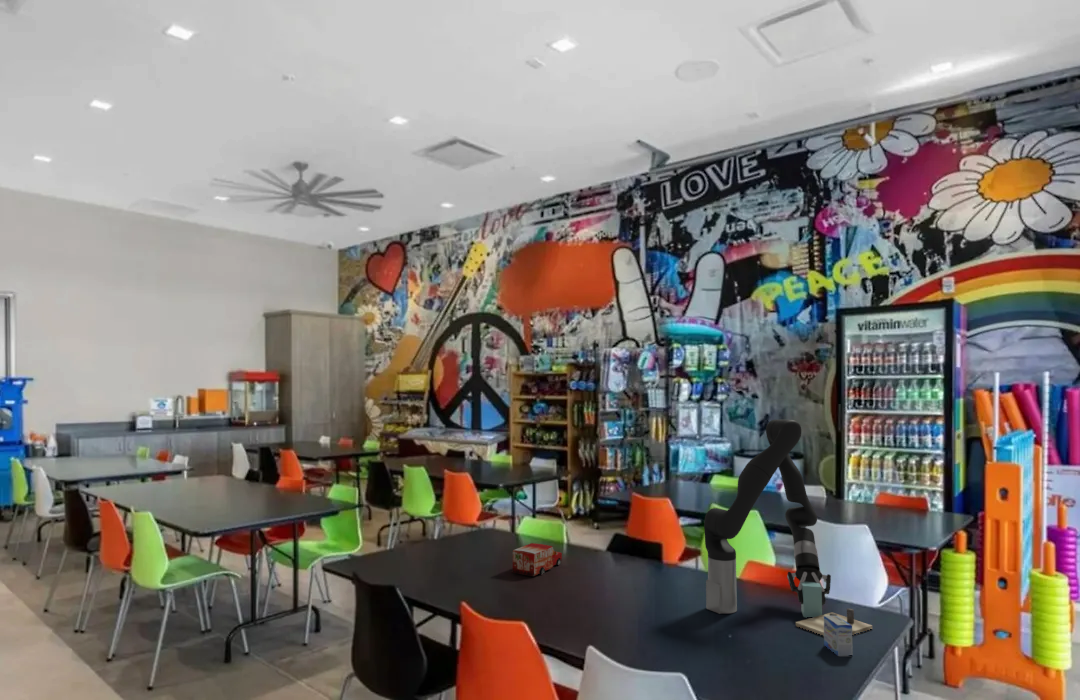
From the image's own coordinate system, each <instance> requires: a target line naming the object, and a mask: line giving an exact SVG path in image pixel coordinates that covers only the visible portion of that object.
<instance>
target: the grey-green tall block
mask: <svg viewBox="0 0 1080 700" xmlns="http://www.w3.org/2000/svg"><path fill="white" fill-rule="evenodd" d="M801 585H802V594H803V604H801V603H800V605H801V606H800V607H801V614H802V617H803V618H807V617H817V616H820V615H823V606H822V587H823V586H822V587H821V585H822V584H821V585H820V584H819V583H816V582H801Z"/></svg>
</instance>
